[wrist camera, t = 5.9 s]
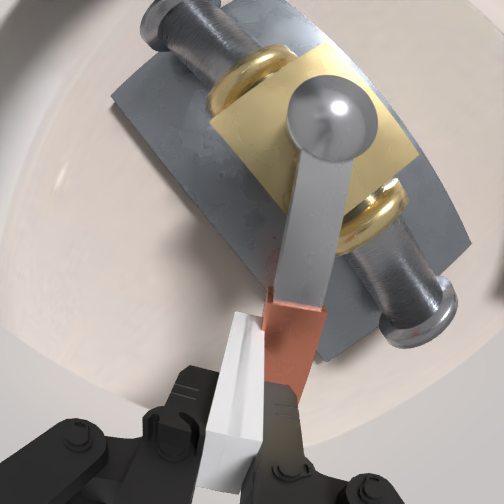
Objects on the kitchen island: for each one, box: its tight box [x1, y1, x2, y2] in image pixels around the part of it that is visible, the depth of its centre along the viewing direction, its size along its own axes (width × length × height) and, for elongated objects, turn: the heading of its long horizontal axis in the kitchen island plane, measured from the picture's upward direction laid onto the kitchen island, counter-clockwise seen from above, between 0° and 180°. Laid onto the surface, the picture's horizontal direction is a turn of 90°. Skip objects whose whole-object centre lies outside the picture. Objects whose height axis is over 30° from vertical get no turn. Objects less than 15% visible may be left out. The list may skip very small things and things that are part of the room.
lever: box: [261, 75, 378, 403], centre depth 11 cm, size 15×3×2 cm, turn 170°
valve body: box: [111, 0, 471, 362], centre depth 16 cm, size 28×16×9 cm, turn 39°
